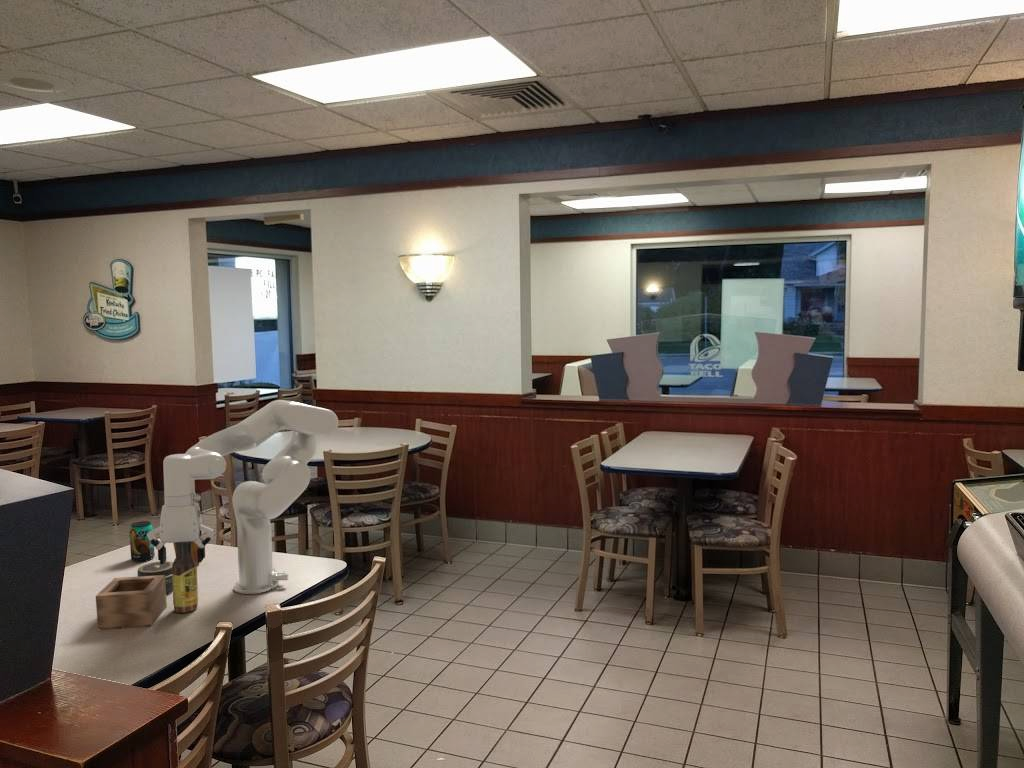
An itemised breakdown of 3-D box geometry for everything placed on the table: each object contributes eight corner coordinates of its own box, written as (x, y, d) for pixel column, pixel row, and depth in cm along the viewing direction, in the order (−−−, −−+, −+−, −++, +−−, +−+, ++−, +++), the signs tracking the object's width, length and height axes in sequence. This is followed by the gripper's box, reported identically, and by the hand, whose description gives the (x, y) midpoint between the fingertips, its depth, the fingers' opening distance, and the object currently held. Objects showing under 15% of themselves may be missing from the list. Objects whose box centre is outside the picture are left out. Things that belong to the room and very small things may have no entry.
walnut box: (166, 606, 206) (164, 575, 205) (151, 626, 193) (149, 592, 192) (116, 609, 204) (114, 577, 203) (97, 629, 191) (95, 596, 190)
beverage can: (126, 562, 242) (124, 526, 241) (140, 555, 249) (138, 520, 248) (145, 563, 241) (143, 527, 240) (159, 556, 248) (157, 521, 247)
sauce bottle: (189, 615, 200) (185, 543, 198) (168, 613, 201) (164, 542, 199) (203, 605, 206) (200, 535, 204) (183, 603, 208) (180, 534, 206)
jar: (158, 583, 223) (157, 558, 222) (184, 587, 220) (182, 562, 219) (130, 595, 214) (129, 570, 213) (157, 600, 210) (155, 574, 210)
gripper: (216, 495, 206) (218, 556, 207) (150, 497, 203) (152, 558, 204) (209, 502, 198) (211, 565, 200) (141, 504, 196) (143, 567, 197)
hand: (182, 561), depth 202 cm, fingers open, 9 cm apart
